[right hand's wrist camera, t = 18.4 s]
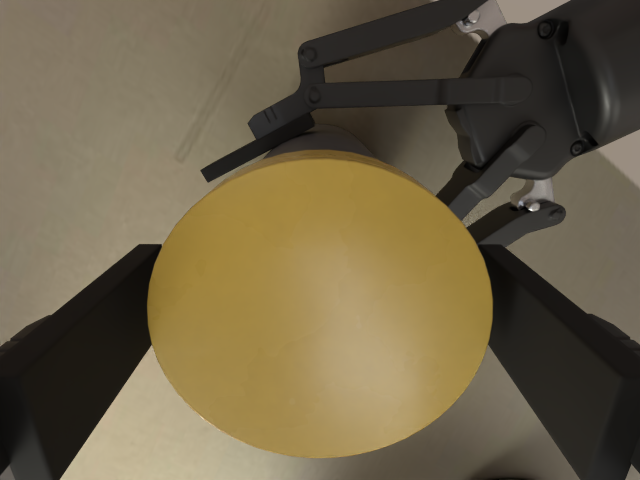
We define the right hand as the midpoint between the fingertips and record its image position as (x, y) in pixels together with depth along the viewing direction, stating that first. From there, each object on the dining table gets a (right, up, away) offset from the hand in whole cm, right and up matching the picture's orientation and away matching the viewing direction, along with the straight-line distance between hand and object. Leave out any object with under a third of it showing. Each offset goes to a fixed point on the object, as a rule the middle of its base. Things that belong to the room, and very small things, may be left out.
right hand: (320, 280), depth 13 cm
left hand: (-4, +1, +10) cm, 11 cm away
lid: (0, -1, -3) cm, 3 cm away
